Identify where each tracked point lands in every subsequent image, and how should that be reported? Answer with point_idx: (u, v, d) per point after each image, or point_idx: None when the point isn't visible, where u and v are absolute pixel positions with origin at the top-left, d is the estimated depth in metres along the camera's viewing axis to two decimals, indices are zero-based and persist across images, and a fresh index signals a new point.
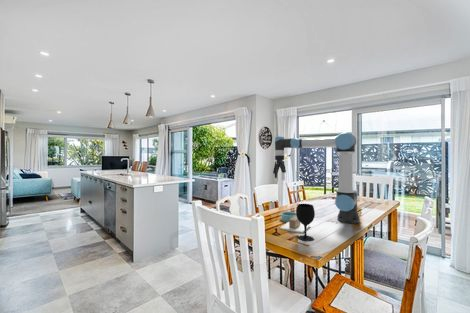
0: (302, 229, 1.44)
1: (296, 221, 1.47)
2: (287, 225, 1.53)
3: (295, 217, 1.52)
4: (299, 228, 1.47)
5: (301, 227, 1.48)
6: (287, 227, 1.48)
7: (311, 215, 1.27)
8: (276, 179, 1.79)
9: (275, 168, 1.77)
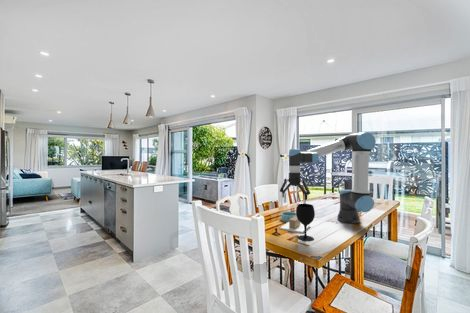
0: (302, 229, 1.44)
1: (296, 221, 1.47)
2: (287, 225, 1.53)
3: (295, 217, 1.52)
4: (299, 228, 1.47)
5: (301, 227, 1.48)
6: (287, 227, 1.48)
7: (311, 215, 1.27)
8: None
9: None
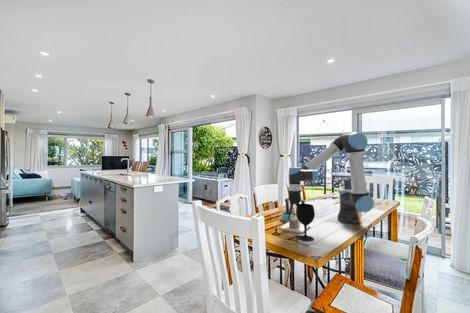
0: (302, 229, 1.44)
1: (296, 221, 1.47)
2: (287, 225, 1.53)
3: (295, 217, 1.52)
4: (299, 228, 1.47)
5: (301, 227, 1.48)
6: (287, 227, 1.48)
7: (311, 215, 1.27)
8: None
9: None
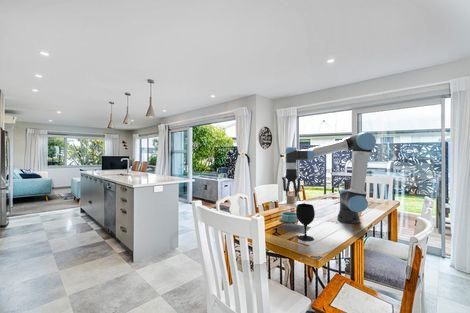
0: None
1: (293, 197, 1.58)
2: (284, 202, 1.63)
3: (292, 194, 1.63)
4: (295, 203, 1.58)
5: (297, 203, 1.59)
6: (284, 203, 1.59)
7: (311, 215, 1.27)
8: None
9: None
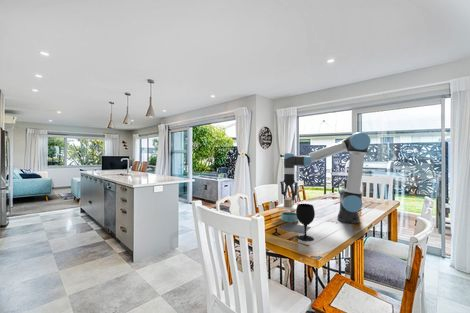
0: (295, 207, 1.63)
1: (290, 201, 1.66)
2: (282, 205, 1.71)
3: (289, 198, 1.71)
4: (292, 206, 1.66)
5: (294, 206, 1.67)
6: (282, 206, 1.67)
7: (311, 215, 1.27)
8: None
9: None
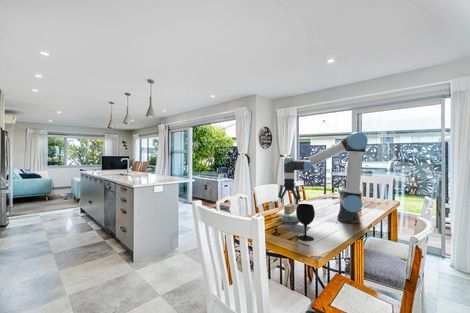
0: (295, 214, 1.63)
1: (290, 207, 1.66)
2: (282, 211, 1.71)
3: (289, 204, 1.71)
4: (292, 213, 1.66)
5: (295, 213, 1.67)
6: (282, 213, 1.67)
7: (311, 215, 1.27)
8: None
9: None
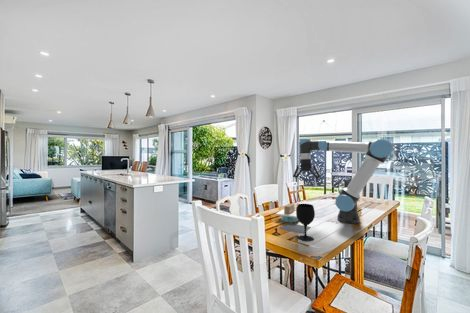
0: (295, 214, 1.63)
1: (290, 207, 1.66)
2: (282, 211, 1.71)
3: (289, 204, 1.71)
4: (292, 213, 1.66)
5: (295, 213, 1.67)
6: (282, 213, 1.67)
7: (311, 215, 1.27)
8: None
9: None
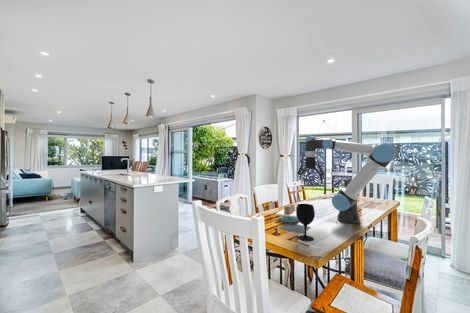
0: (295, 214, 1.63)
1: (290, 207, 1.66)
2: (282, 211, 1.71)
3: (289, 204, 1.71)
4: (292, 213, 1.66)
5: (295, 213, 1.67)
6: (282, 213, 1.67)
7: (311, 215, 1.27)
8: None
9: None
